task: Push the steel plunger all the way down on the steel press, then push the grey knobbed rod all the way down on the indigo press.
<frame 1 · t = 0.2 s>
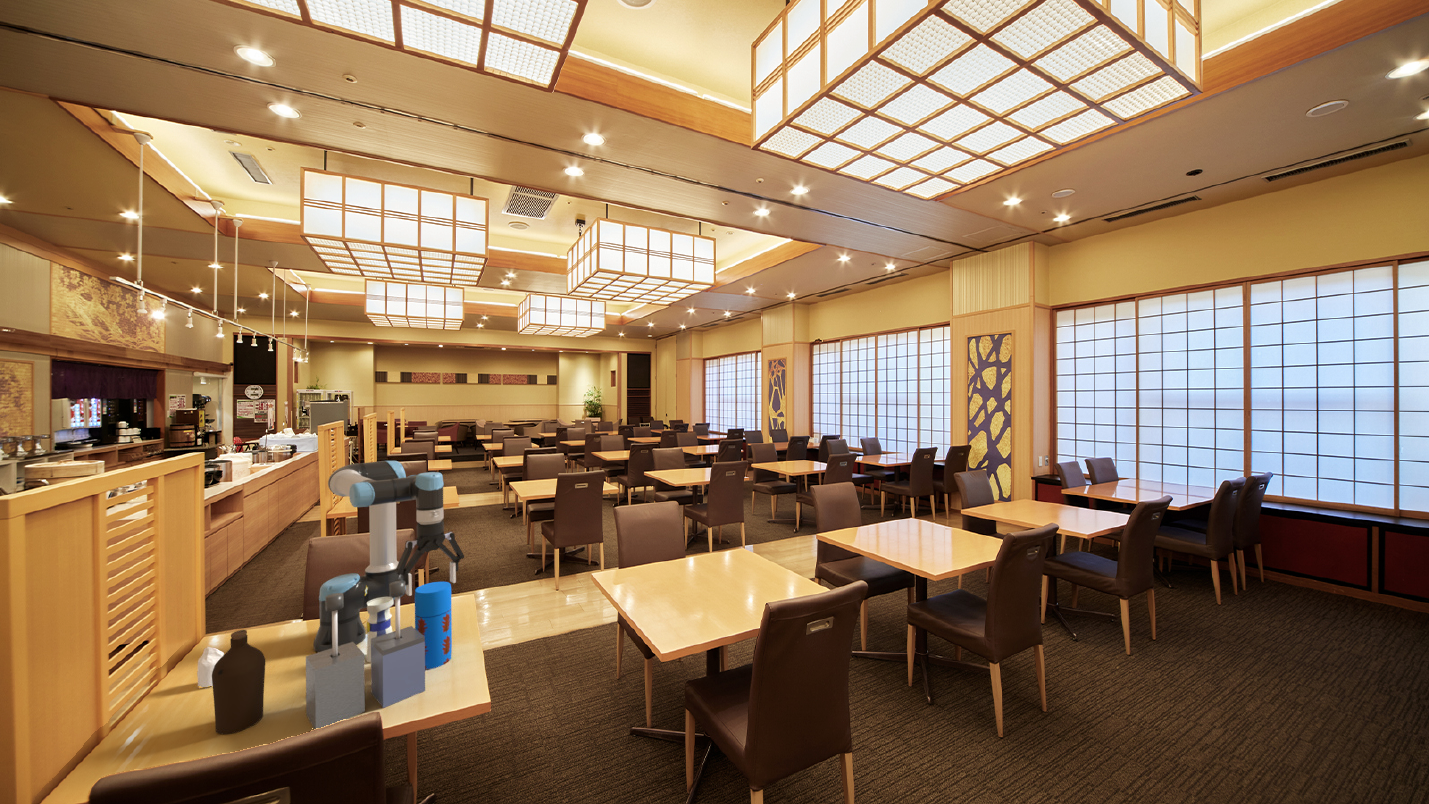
hand: (431, 588, 159), 28 cm above the table, tool pointing down, fingers open, 12 cm apart
steel press: (335, 713, 140), on the table
grey knobbed rod: (397, 616, 150), point 23 cm above the table, slide at 0.2 cm, touching gripper
thermos: (433, 661, 168), on the table
indigo press: (398, 692, 150), on the table
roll: (211, 684, 155), on the table
steel plunger: (334, 631, 140), point 23 cm above the table, slide at 0.0 cm
olive oil: (240, 723, 136), on the table
water bottle: (379, 657, 171), on the table
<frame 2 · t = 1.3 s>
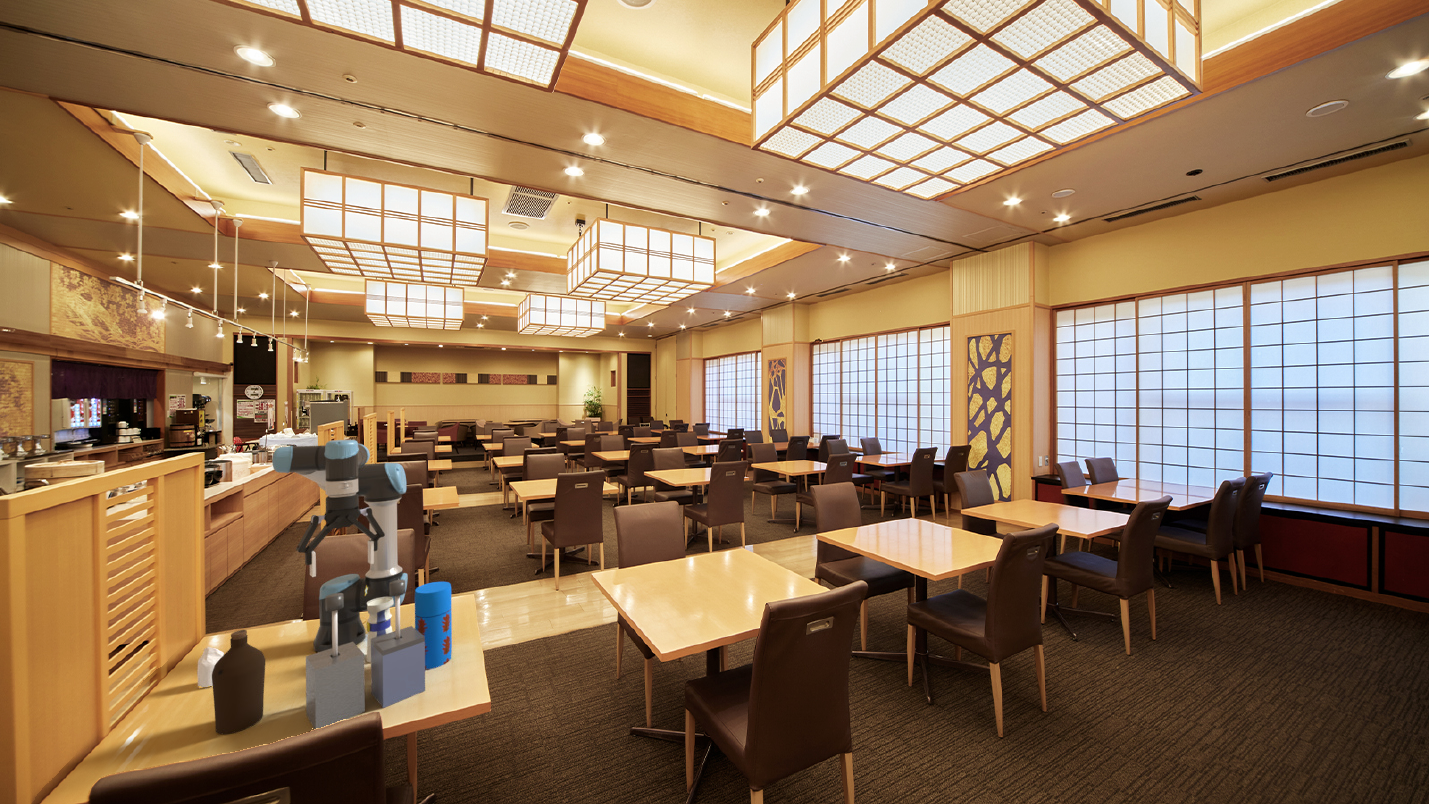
hand: (342, 569, 141), 40 cm above the table, tool pointing down, fingers open, 13 cm apart
grey knobbed rod: (397, 615, 150), point 23 cm above the table, slide at -0.1 cm
everything else where it was.
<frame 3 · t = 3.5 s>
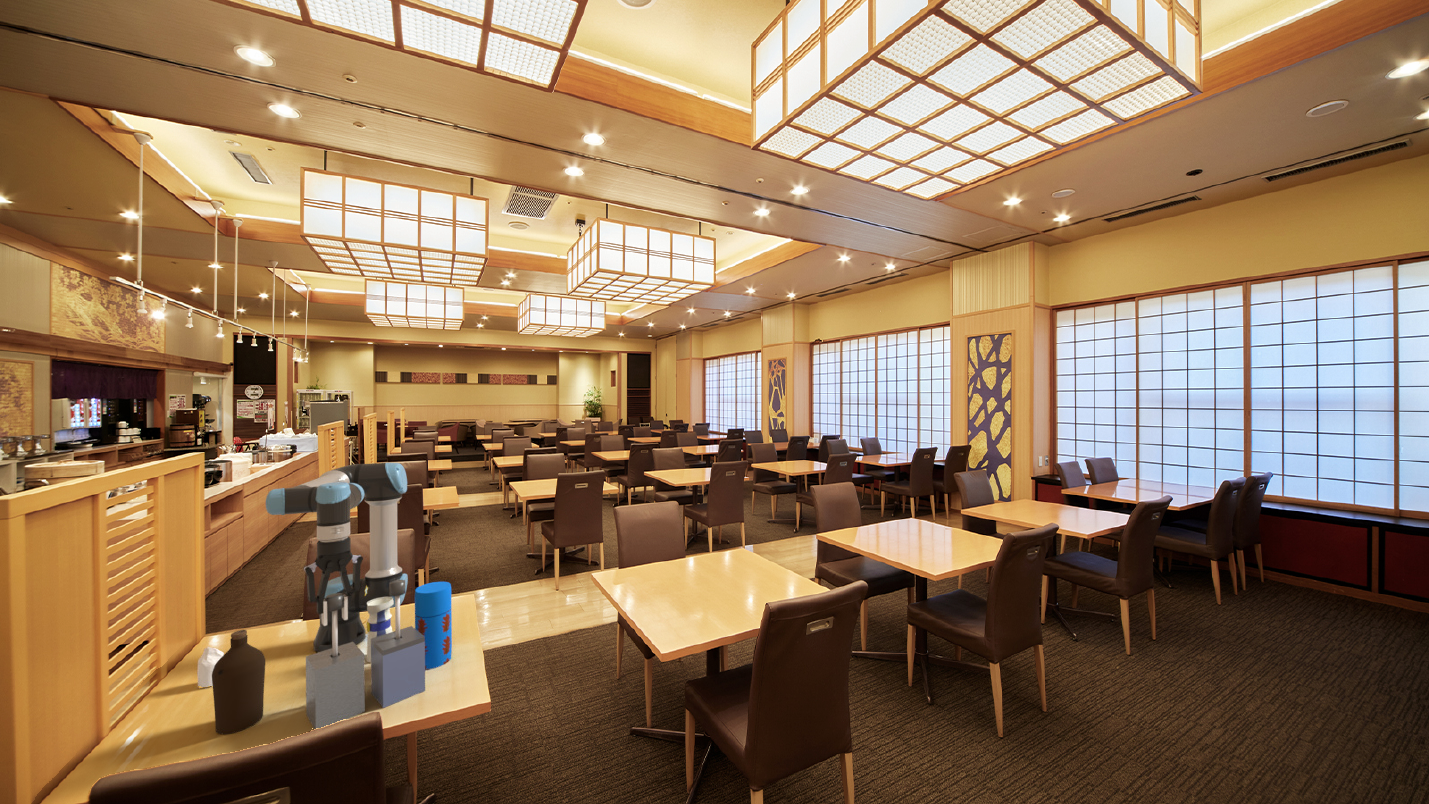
hand: (334, 621, 140), 26 cm above the table, tool pointing down, fingers closed on steel plunger, 4 cm apart
steel plunger: (334, 631, 140), point 23 cm above the table, slide at 0.0 cm, touching gripper
everything else where it was.
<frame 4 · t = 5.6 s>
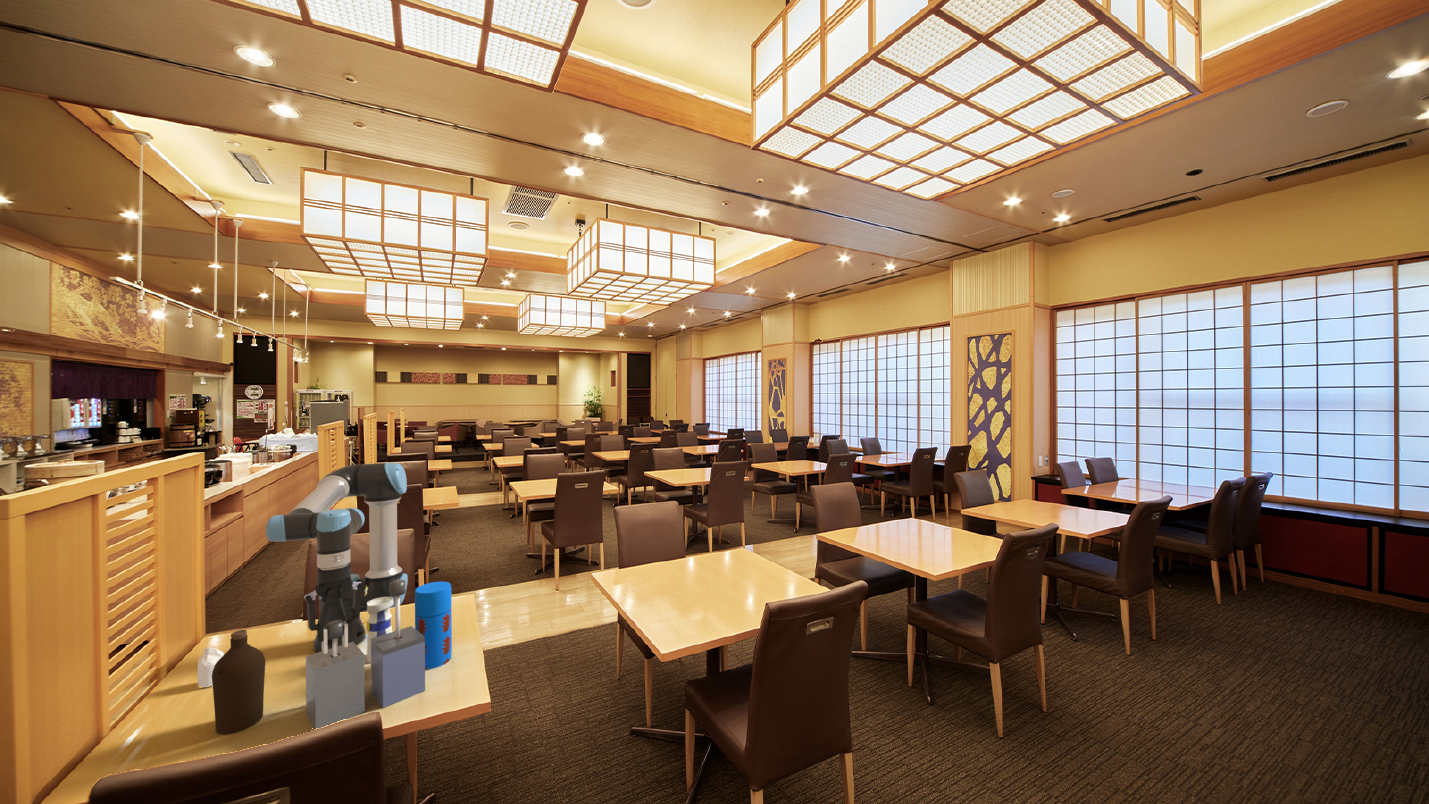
hand: (335, 648, 140), 18 cm above the table, tool pointing down, fingers closed on steel plunger, 4 cm apart
steel plunger: (335, 658, 140), point 16 cm above the table, slide at 7.7 cm, touching gripper
everything else where it was.
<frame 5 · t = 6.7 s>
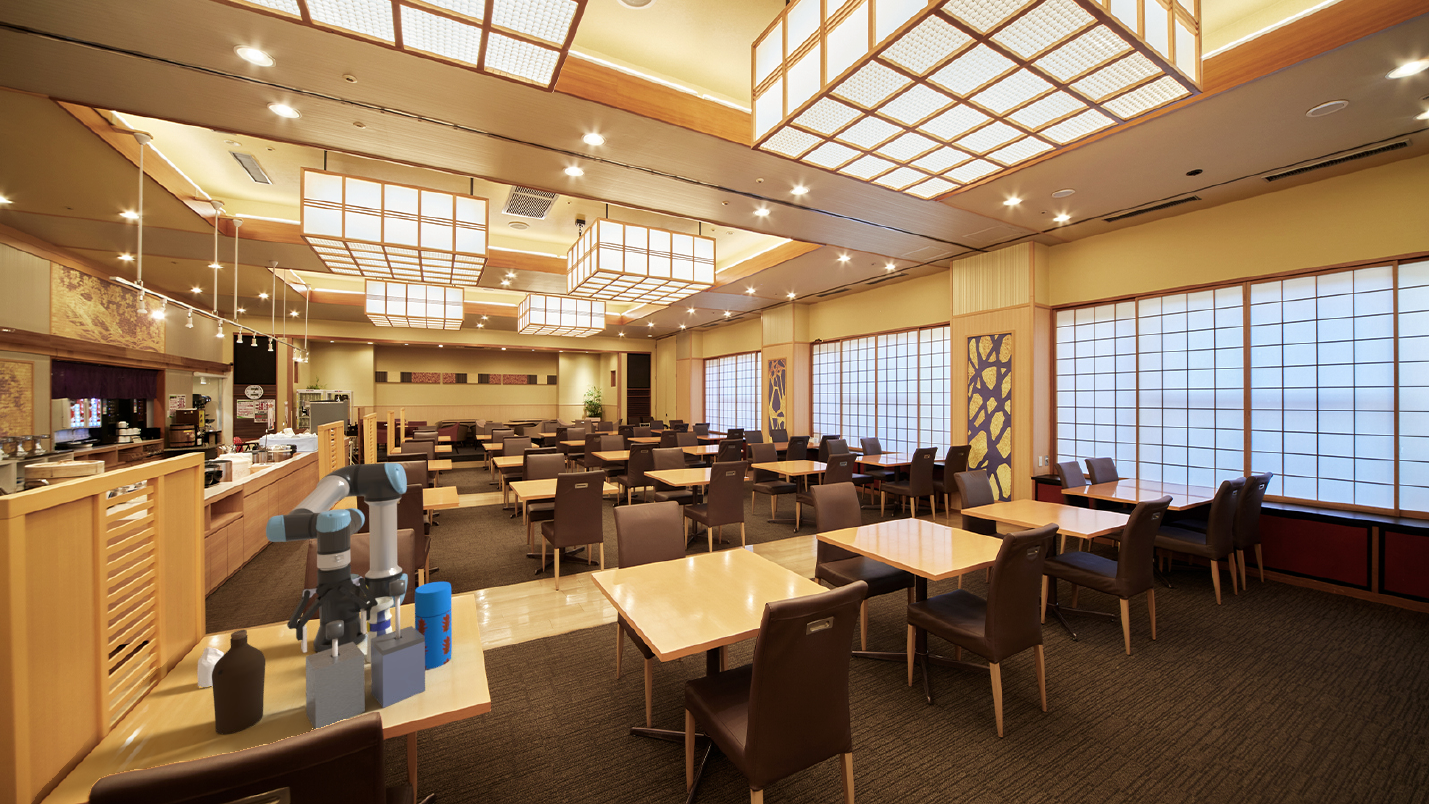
hand: (334, 641, 140), 20 cm above the table, tool pointing down, fingers open, 13 cm apart
steel plunger: (335, 658, 140), point 15 cm above the table, slide at 7.8 cm
everything else where it was.
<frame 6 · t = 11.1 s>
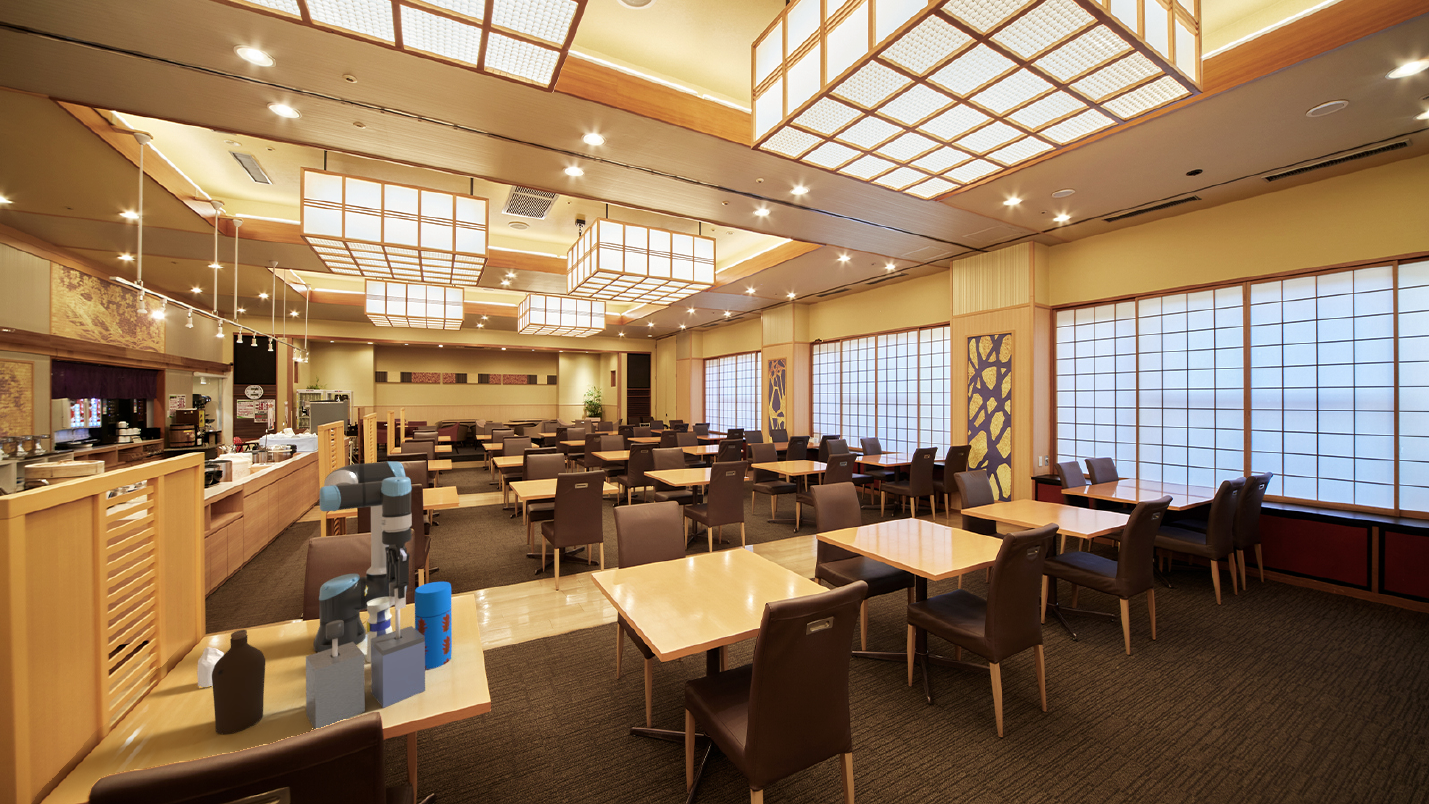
hand: (397, 606, 150), 26 cm above the table, tool pointing down, fingers closed on grey knobbed rod, 4 cm apart
grey knobbed rod: (397, 615, 150), point 23 cm above the table, slide at 0.0 cm, touching gripper
everything else where it was.
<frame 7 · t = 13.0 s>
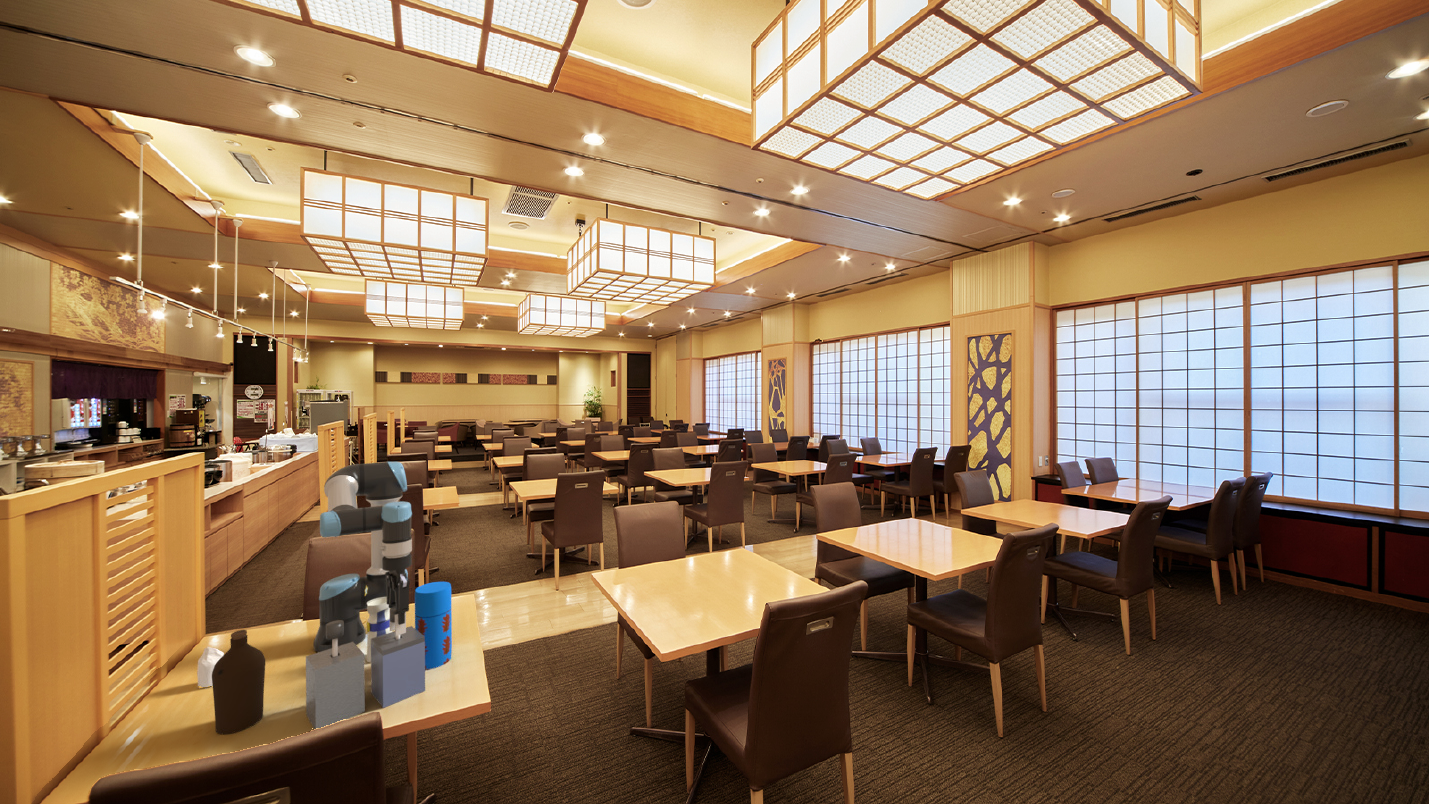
hand: (397, 631, 150), 18 cm above the table, tool pointing down, fingers closed on grey knobbed rod, 4 cm apart
grey knobbed rod: (397, 640, 150), point 16 cm above the table, slide at 7.7 cm, touching gripper
everything else where it was.
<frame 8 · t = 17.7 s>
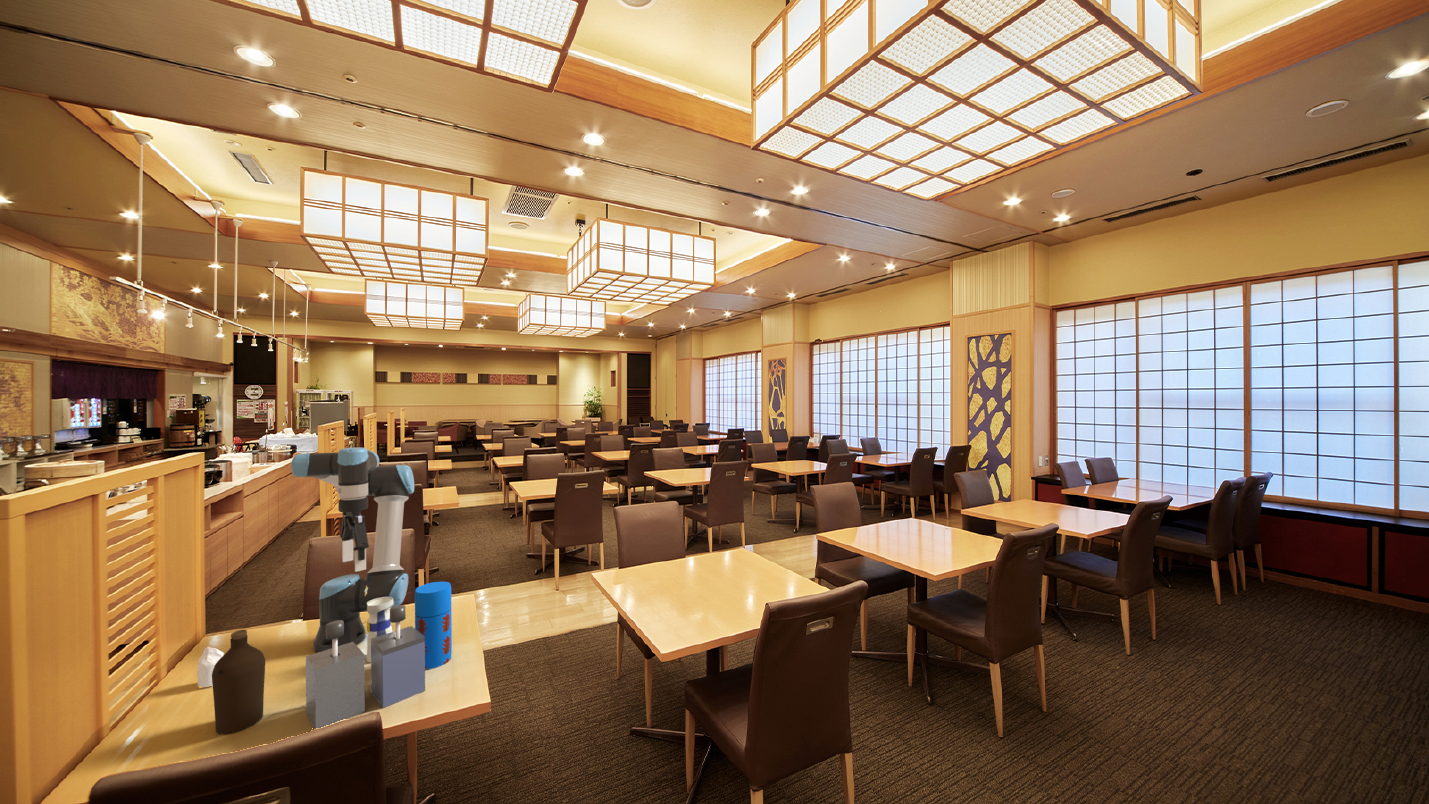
hand: (354, 565, 155), 37 cm above the table, tool pointing down, fingers open, 13 cm apart
grey knobbed rod: (397, 640, 150), point 16 cm above the table, slide at 7.7 cm
everything else where it was.
at the end: steel plunger slide at 7.8 cm; grey knobbed rod slide at 7.7 cm; the gripper is holding nothing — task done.
